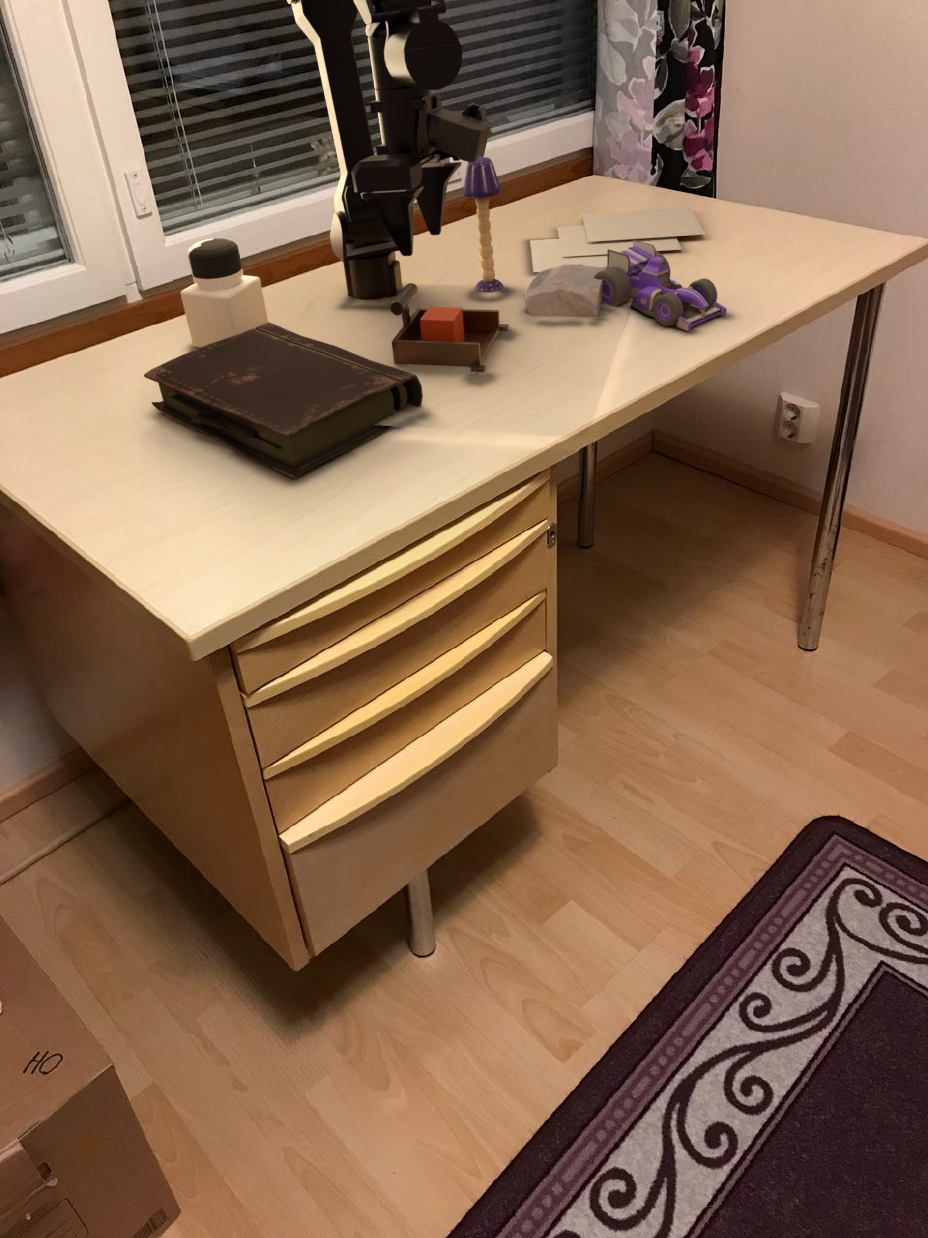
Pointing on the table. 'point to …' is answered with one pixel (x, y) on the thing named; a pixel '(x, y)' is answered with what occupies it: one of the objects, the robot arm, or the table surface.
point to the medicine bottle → (220, 293)
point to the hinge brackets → (483, 367)
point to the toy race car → (656, 287)
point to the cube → (442, 324)
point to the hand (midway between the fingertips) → (422, 244)
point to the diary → (283, 396)
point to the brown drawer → (412, 350)
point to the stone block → (566, 291)
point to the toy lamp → (483, 215)
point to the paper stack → (614, 236)
